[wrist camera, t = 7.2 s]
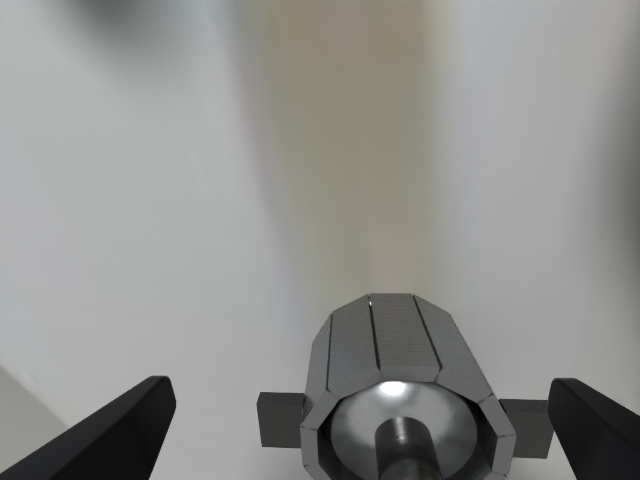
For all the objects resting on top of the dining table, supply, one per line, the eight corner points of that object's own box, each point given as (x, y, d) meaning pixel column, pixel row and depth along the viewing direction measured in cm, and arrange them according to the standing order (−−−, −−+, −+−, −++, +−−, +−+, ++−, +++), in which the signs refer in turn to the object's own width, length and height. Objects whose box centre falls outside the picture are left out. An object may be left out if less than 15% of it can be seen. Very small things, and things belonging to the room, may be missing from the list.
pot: (515, 294, 20) (591, 370, 14) (492, 421, 23) (546, 528, 17) (272, 293, 21) (242, 362, 15) (284, 414, 24) (263, 512, 18)
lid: (477, 367, 16) (533, 468, 11) (462, 472, 18) (502, 592, 14) (330, 364, 17) (323, 459, 12) (333, 466, 19) (329, 580, 14)
